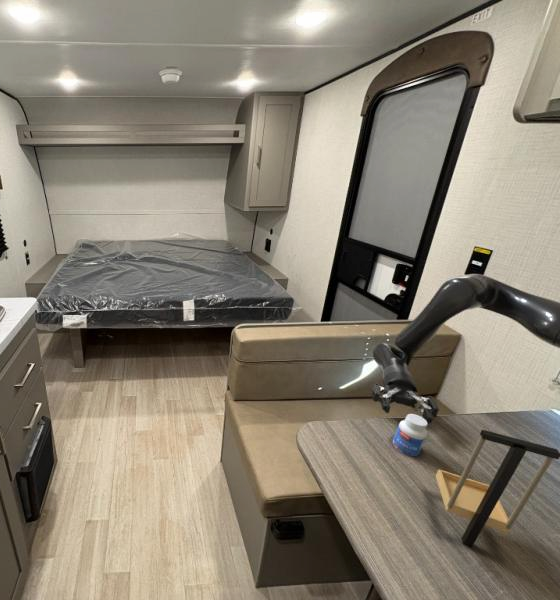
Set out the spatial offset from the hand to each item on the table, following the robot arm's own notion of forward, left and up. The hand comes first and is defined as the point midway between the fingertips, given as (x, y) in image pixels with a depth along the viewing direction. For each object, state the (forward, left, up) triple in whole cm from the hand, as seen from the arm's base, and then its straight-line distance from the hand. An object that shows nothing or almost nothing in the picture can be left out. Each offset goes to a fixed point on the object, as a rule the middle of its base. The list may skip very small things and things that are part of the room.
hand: (407, 415), depth 81 cm
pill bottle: (-1, +6, -6) cm, 9 cm away
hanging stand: (-11, +21, -6) cm, 25 cm away
